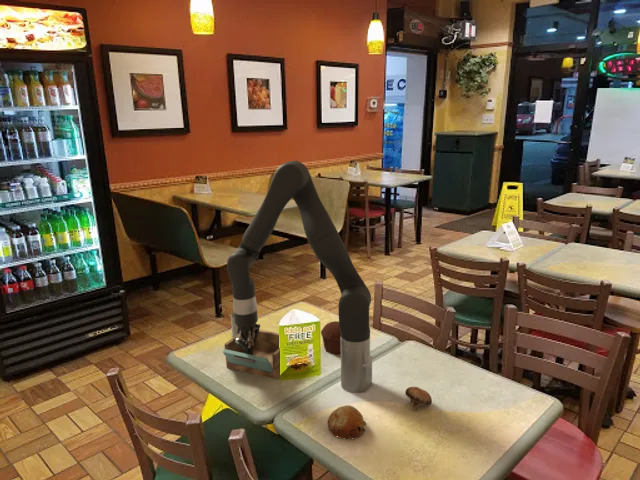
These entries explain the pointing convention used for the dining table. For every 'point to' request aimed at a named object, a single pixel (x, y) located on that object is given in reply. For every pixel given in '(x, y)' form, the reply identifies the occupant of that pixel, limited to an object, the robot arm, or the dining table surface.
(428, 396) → the mushroom
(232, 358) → the panel
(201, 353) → the dining table surface
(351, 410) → the bread roll
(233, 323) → the cup
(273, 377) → the box
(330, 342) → the muffin
